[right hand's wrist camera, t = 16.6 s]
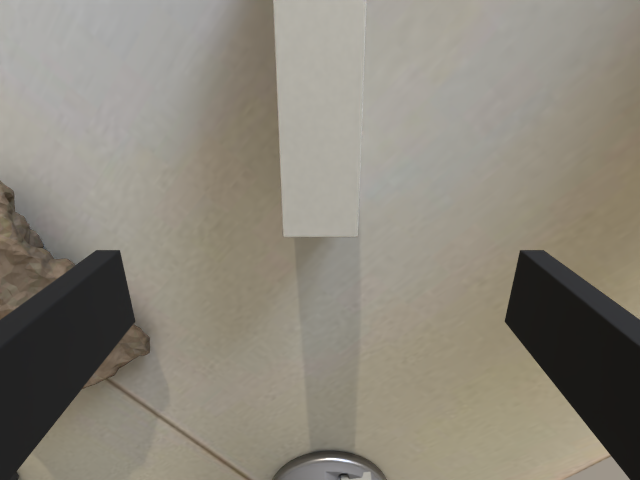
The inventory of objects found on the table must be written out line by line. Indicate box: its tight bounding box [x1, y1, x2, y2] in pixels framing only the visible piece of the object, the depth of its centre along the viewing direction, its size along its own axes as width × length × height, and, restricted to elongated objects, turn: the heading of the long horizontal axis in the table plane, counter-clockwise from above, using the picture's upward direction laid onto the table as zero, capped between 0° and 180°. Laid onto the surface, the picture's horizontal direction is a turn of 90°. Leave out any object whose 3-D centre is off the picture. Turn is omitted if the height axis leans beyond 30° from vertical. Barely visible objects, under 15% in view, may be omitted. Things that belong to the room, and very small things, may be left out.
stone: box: [0, 181, 150, 390], centre depth 35 cm, size 21×15×6 cm
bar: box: [273, 0, 367, 237], centre depth 26 cm, size 22×5×8 cm, turn 0°
